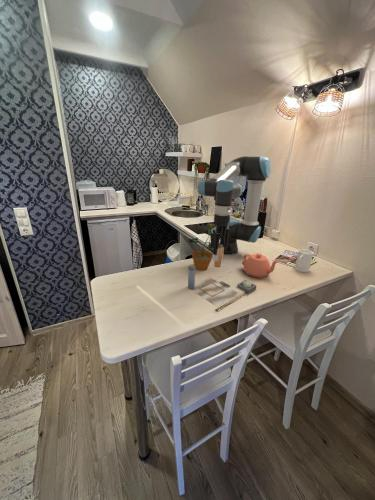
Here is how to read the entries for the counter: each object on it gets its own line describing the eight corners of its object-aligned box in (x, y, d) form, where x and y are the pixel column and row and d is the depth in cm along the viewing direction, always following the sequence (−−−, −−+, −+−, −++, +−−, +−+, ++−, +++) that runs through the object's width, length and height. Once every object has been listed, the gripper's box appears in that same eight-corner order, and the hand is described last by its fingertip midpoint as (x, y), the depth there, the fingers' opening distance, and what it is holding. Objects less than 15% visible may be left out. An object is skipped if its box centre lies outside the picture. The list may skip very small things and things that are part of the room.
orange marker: (212, 265, 115) (214, 244, 110) (216, 264, 117) (219, 242, 112) (217, 268, 112) (219, 246, 108) (222, 266, 114) (224, 244, 110)
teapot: (281, 275, 131) (285, 256, 126) (268, 285, 120) (272, 264, 116) (248, 263, 145) (250, 246, 140) (234, 271, 135) (237, 252, 130)
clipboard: (183, 288, 115) (183, 286, 114) (209, 276, 127) (209, 274, 127) (217, 311, 98) (217, 309, 98) (244, 295, 111) (244, 293, 110)
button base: (236, 288, 117) (237, 284, 116) (244, 284, 121) (245, 280, 120) (248, 294, 112) (248, 290, 111) (255, 289, 116) (256, 285, 115)
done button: (240, 287, 116) (241, 282, 115) (245, 285, 119) (246, 280, 118) (247, 291, 113) (248, 286, 112) (252, 288, 116) (253, 283, 115)
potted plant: (221, 268, 137) (226, 221, 125) (202, 279, 124) (206, 228, 112) (199, 259, 148) (202, 216, 136) (180, 269, 135) (181, 221, 123)
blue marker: (186, 287, 114) (186, 266, 110) (191, 284, 116) (192, 264, 112) (191, 290, 112) (191, 269, 107) (195, 287, 114) (196, 267, 109)
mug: (301, 274, 133) (306, 256, 128) (288, 269, 139) (292, 251, 134) (311, 270, 139) (316, 252, 134) (299, 264, 145) (303, 247, 141)
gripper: (217, 217, 97) (212, 266, 105) (239, 213, 107) (233, 257, 115) (204, 214, 102) (201, 260, 111) (226, 210, 112) (222, 253, 121)
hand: (217, 259), depth 113 cm, fingers closed on orange marker, 3 cm apart
